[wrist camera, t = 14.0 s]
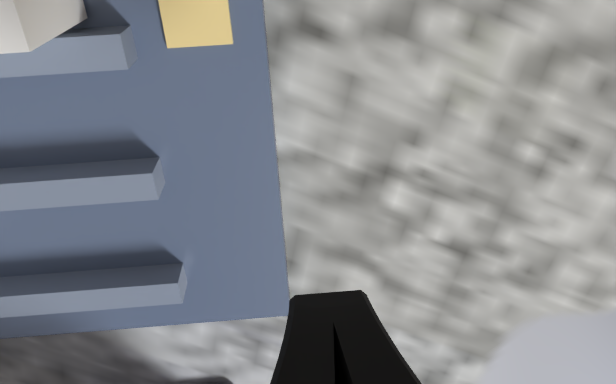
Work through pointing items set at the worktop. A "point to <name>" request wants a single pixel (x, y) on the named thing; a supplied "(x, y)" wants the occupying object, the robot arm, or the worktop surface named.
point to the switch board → (141, 172)
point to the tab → (36, 22)
